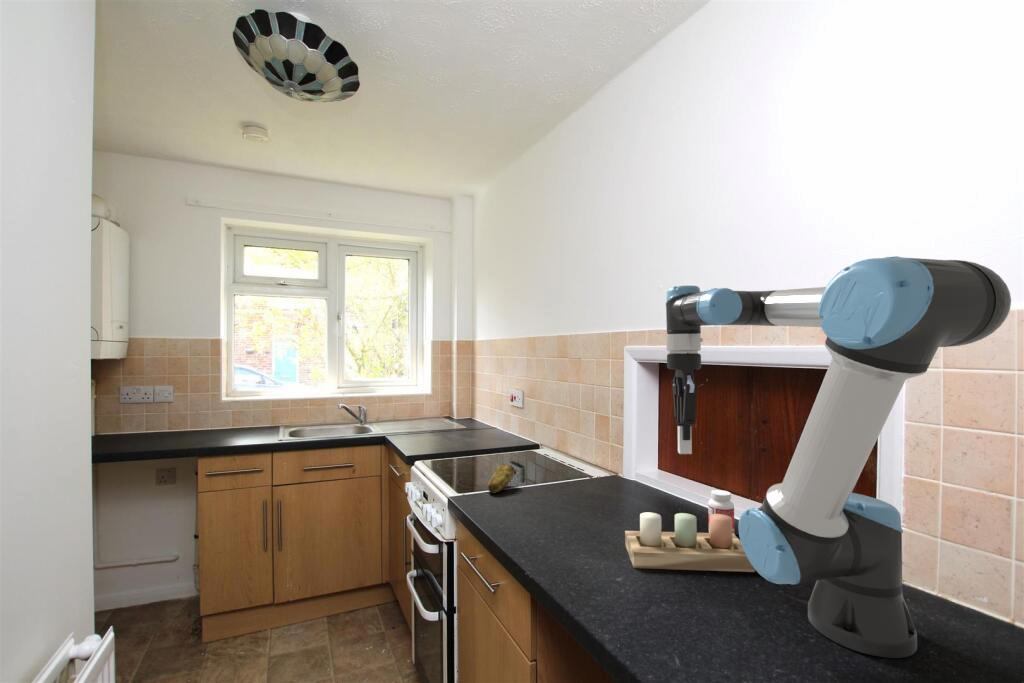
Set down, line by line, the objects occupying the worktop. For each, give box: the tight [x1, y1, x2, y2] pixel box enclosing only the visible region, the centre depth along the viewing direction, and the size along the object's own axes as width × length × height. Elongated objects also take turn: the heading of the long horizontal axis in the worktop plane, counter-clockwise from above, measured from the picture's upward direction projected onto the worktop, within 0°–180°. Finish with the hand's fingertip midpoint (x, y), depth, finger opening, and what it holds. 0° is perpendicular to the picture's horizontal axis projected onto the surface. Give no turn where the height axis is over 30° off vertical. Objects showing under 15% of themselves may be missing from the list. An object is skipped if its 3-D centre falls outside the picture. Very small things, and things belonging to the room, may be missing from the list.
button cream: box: [639, 511, 662, 546], centre depth 109 cm, size 5×5×6 cm
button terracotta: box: [710, 514, 733, 548], centre depth 107 cm, size 5×5×6 cm
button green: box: [674, 512, 698, 547], centre depth 108 cm, size 5×5×6 cm
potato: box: [487, 464, 515, 494], centre depth 160 cm, size 8×13×8 cm, turn 134°
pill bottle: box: [707, 489, 736, 535], centre depth 121 cm, size 6×6×11 cm
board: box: [624, 530, 756, 573], centre depth 108 cm, size 12×26×4 cm, turn 85°
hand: (684, 453), depth 108 cm, fingers closed
